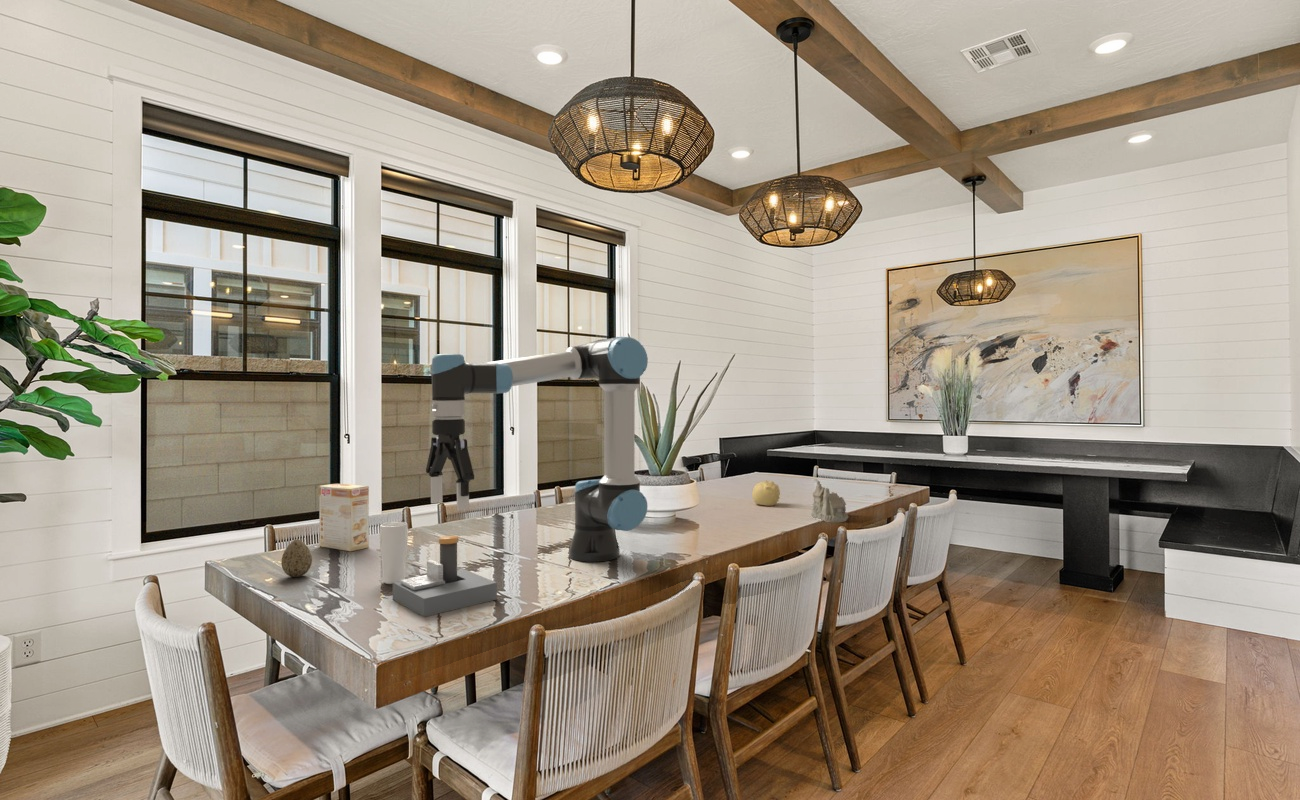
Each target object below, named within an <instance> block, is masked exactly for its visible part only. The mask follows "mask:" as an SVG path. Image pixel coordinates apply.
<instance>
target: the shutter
mask: <svg viewBox="0 0 1300 800" xmlns="http://www.w3.org/2000/svg"><path fill="white" fill-rule="evenodd" d="M400 583H401V584H403V585H405V586H407V587H408V588H410V589H412V590H418V589H423V588H428V587H432V586H437V585H442V584H445V580H443V564H440V562H438V561H435V560H433V559H429V560H426V574H423V575H420V576H419V575H418V576H415V577H414V576H413V577H409V578H405V579H403V580H400Z"/></svg>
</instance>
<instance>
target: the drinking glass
mask: <svg viewBox="0 0 1300 800" xmlns="http://www.w3.org/2000/svg"><path fill="white" fill-rule="evenodd" d="M408 527H409V526H408V522H405V521H391V522H389V521H388V522H383V523H381V524H380V525H379V548H380V556H381V557H380V559H381V568H382V582H383V583H384V584H385V585H393V582H397V581H400V580H403V579H406V562H407V552H408V551H407V550H408V543H409V542H408V540H409V537H408V535H409V531H408Z"/></svg>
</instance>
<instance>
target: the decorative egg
mask: <svg viewBox="0 0 1300 800" xmlns="http://www.w3.org/2000/svg"><path fill="white" fill-rule="evenodd" d="M312 563H313V556H312V553H311V551H310V548H309V547H308V546H307V544H306V543H305V542H304V541H302V540H300V539H297V538H296V539H294V540H293V541H291V542H290V543H289V544H288V545H287V547H285V550H284V551H283V554H282V556H281V568H282V570H283V572H284V574H286V575H287V576H288V577H291V578H300V577H303V576H304V575H306V574H307V573H308V572H309V570H310V569H311V567H312Z"/></svg>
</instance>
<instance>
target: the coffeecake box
mask: <svg viewBox="0 0 1300 800" xmlns="http://www.w3.org/2000/svg"><path fill="white" fill-rule="evenodd" d="M369 487H370V486H369V485H358V484H357V485H356V484H347V483H330V484H324V485H319V490H318V491H319V493H318V494H319V500H318V502H319V503H318V505H319V507H318V508H319V513H318V514H319V517H318V518H319V547H320V546H321V548H328V549H334V550H340V551H346V552H354V551H358V550H363V549H367V548H370V546H369V545H370V544H369V543H370V541H369V540H370V536H369V534H370V533H369V532H370V531H369V530H370V527H369V525H370V521H369V519H370V517H369V514H370V513H369V511H370V508H369V506H370V505H369V502H370V501H369V500H370V499H369V498H370V497H369V496H370V495H369V494H370V493H369V491H370V489H369Z"/></svg>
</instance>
